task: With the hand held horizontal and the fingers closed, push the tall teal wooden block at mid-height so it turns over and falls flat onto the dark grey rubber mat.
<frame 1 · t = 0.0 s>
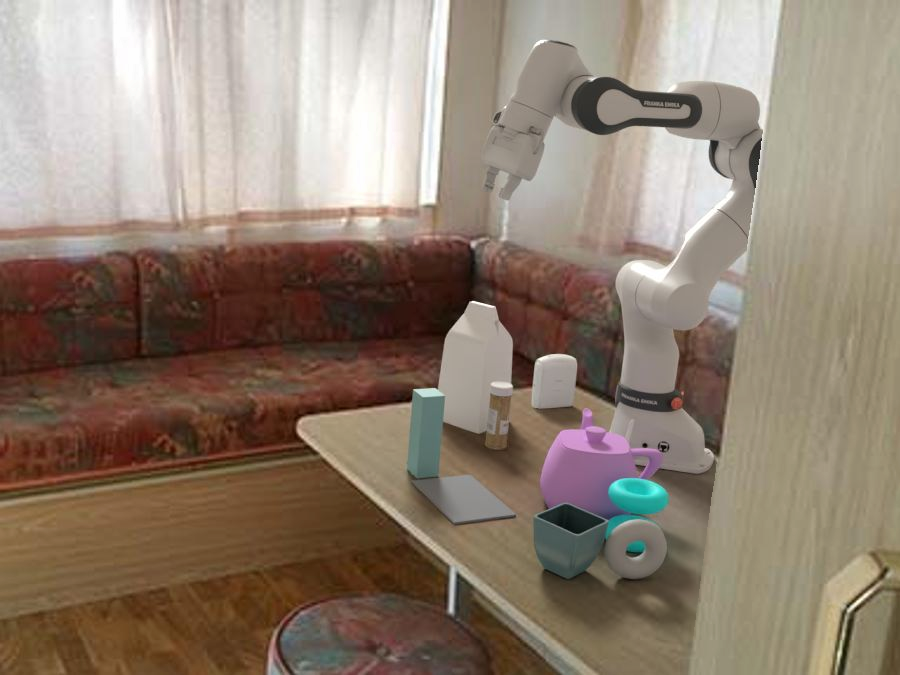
hand: (494, 194, 197), 52 cm above the table, tool tilted 20°, fingers open, 8 cm apart
flower pot: (564, 571, 168), on the table
sprinkles bottle: (495, 447, 218), on the table
milk: (471, 420, 232), on the table
grey mat: (462, 499, 191), on the table
teapot: (584, 506, 193), on the table
donut: (631, 579, 168), on the table
teal block: (422, 472, 201), on the table
photo printer: (551, 406, 246), on the table
donuts: (631, 542, 180), on the table
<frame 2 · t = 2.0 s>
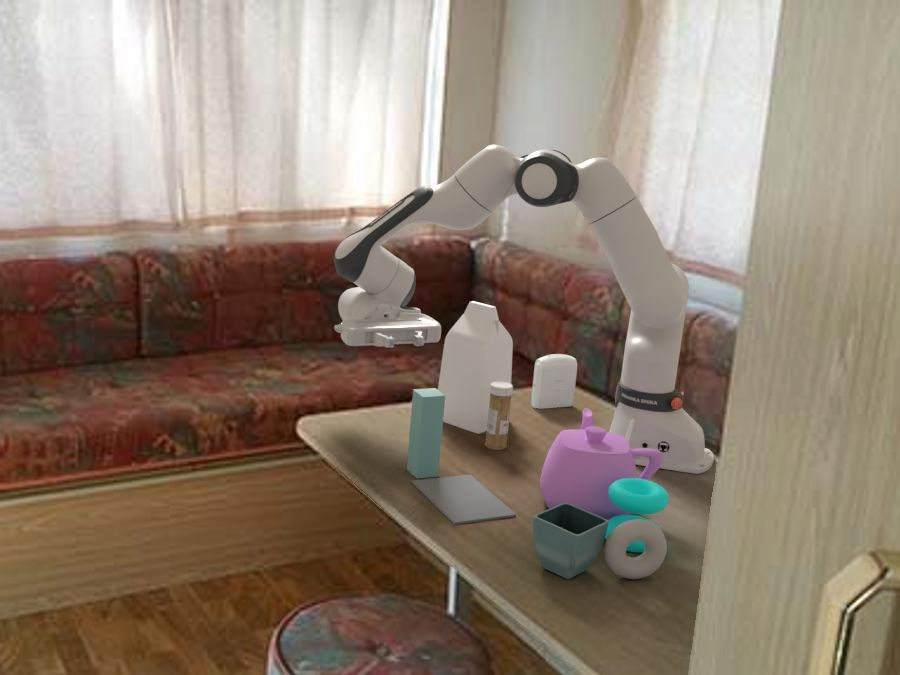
hand: (405, 342, 206), 22 cm above the table, tool horizontal, fingers open, 5 cm apart
nothing on the table moved.
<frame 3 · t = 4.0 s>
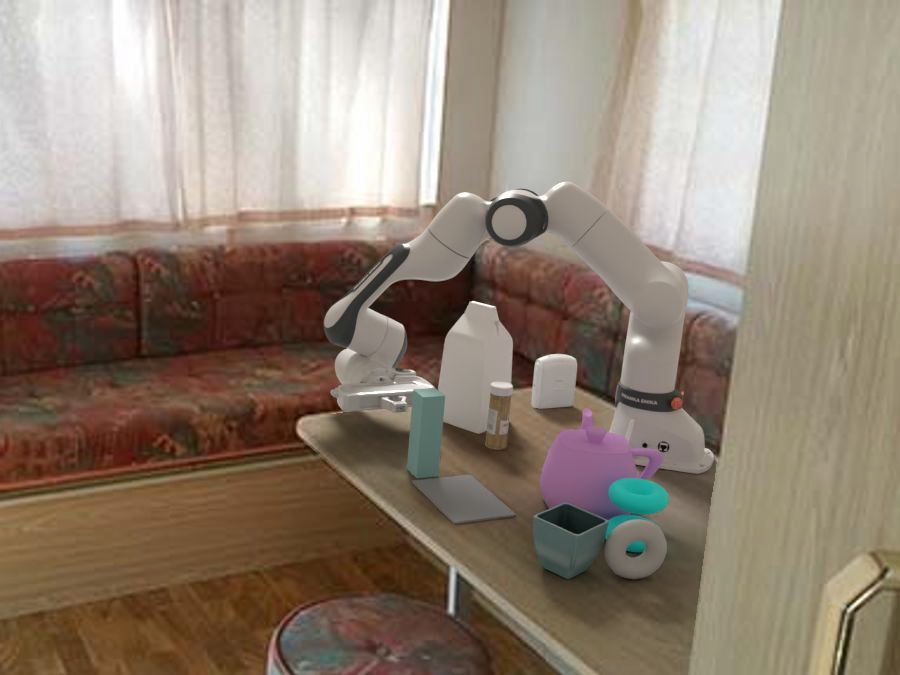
hand: (400, 408, 209), 9 cm above the table, tool horizontal, fingers closed
nothing on the table moved.
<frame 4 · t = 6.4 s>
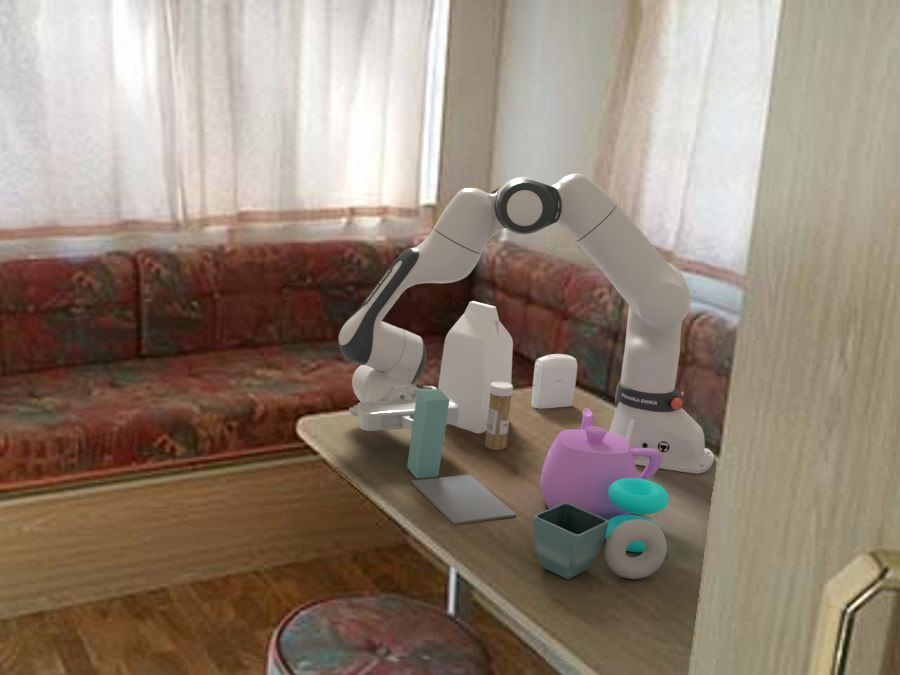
hand: (423, 427, 200), 8 cm above the table, tool horizontal, fingers closed
teal block: (422, 471, 201), on the table, tilted 7°, touching gripper
everything else where it was.
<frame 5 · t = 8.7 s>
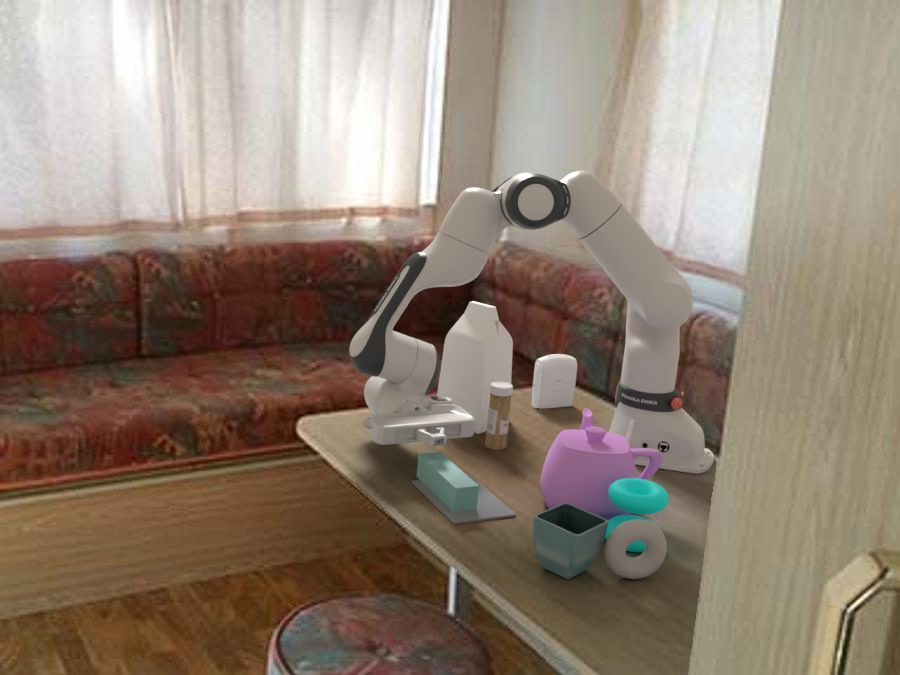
hand: (439, 441, 194), 9 cm above the table, tool horizontal, fingers closed
teal block: (428, 464, 199), point 3 cm above the table, tilted 90°, touching grey mat
everything else where it was.
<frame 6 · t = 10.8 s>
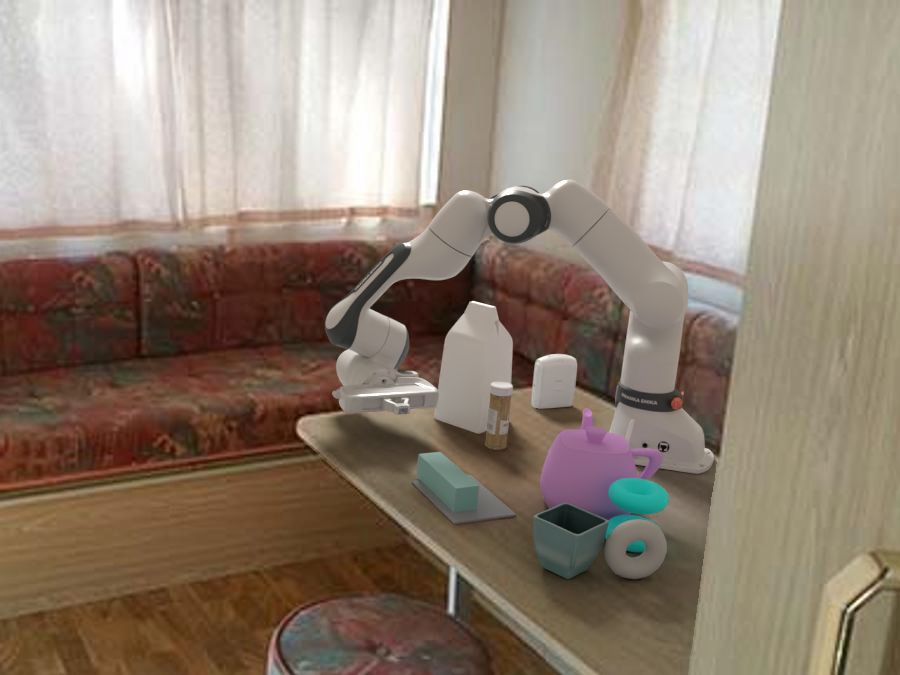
hand: (403, 410, 208), 9 cm above the table, tool horizontal, fingers closed
nothing on the table moved.
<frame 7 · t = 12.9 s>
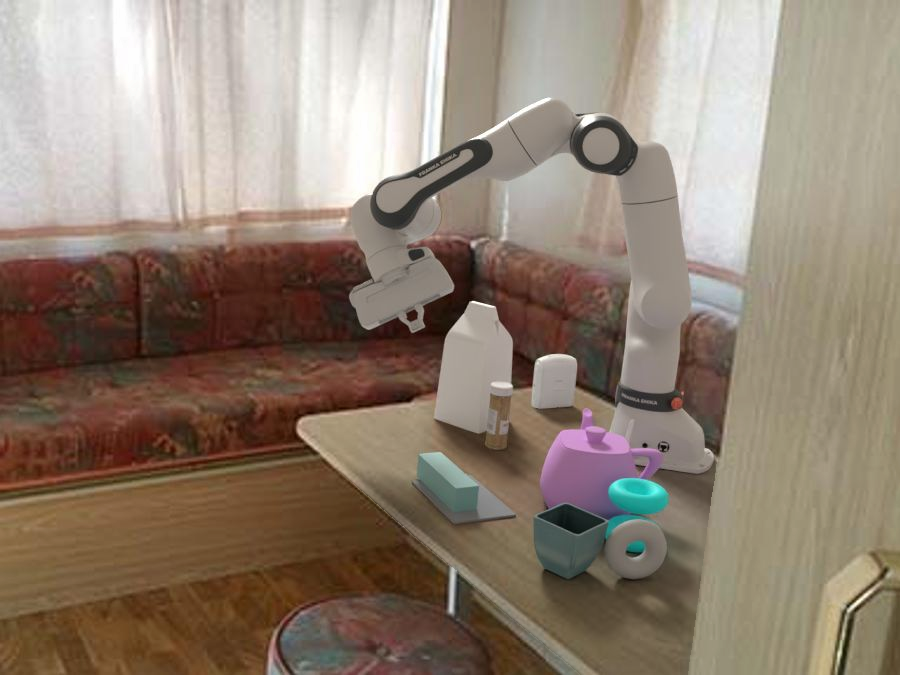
hand: (418, 329, 211), 23 cm above the table, tool tilted 40°, fingers closed
nothing on the table moved.
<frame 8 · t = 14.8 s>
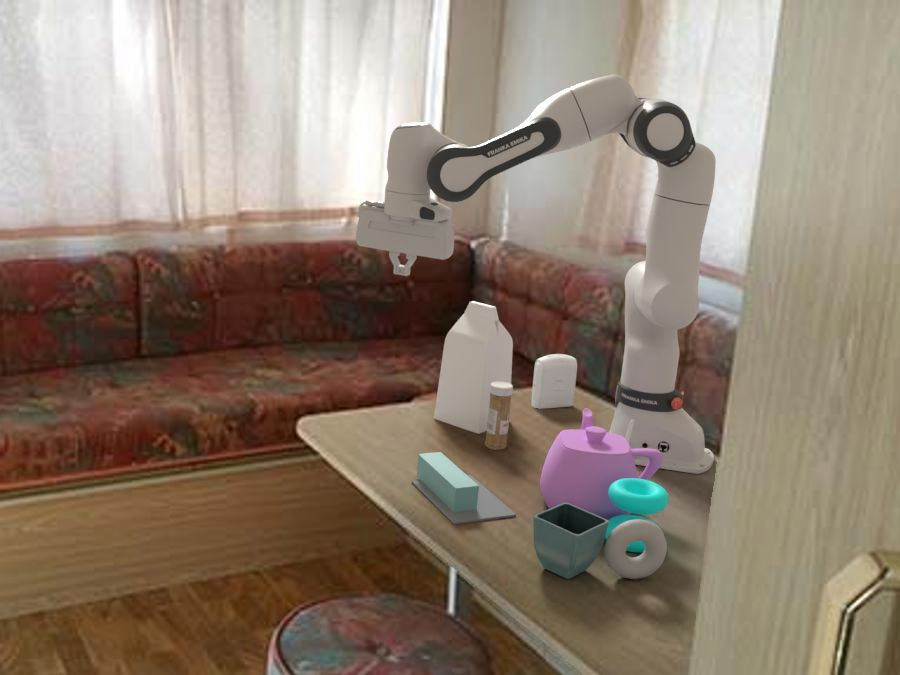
hand: (401, 274, 213), 33 cm above the table, tool pointing down, fingers closed
nothing on the table moved.
at the end: teal block tilted 90°; teal block inside the target area (1.5 cm from its centre), point 2.6 cm above the table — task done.
